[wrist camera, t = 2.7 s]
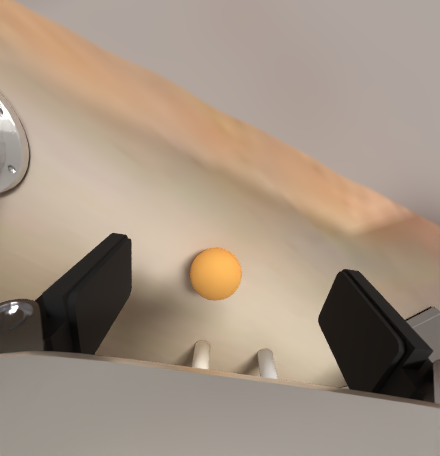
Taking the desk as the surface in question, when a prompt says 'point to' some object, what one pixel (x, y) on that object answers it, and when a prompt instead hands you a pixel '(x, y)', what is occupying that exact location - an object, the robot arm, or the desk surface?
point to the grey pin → (266, 364)
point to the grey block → (428, 330)
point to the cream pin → (201, 355)
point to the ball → (215, 274)
